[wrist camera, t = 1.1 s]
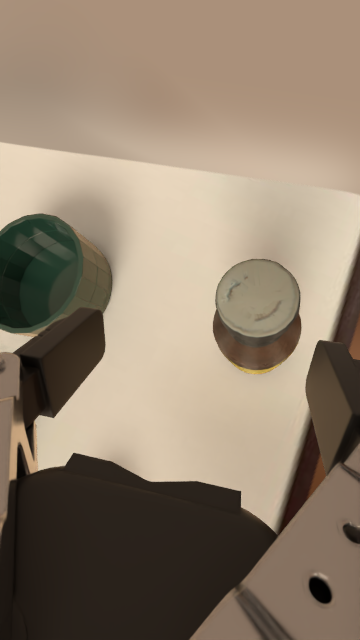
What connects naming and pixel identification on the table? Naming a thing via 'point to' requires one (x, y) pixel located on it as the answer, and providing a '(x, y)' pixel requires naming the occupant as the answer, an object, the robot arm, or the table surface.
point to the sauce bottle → (257, 315)
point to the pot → (48, 274)
